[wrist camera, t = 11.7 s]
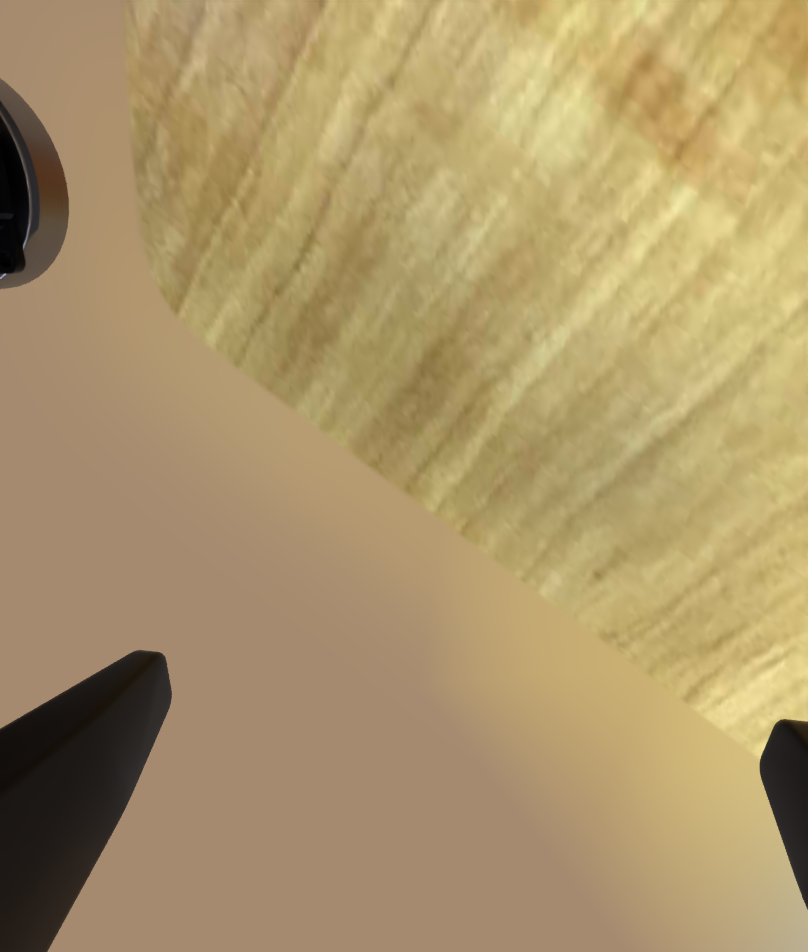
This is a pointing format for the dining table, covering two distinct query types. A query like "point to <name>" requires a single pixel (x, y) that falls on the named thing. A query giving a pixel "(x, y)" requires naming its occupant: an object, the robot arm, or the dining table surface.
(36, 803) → the robot arm
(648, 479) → the dining table surface
